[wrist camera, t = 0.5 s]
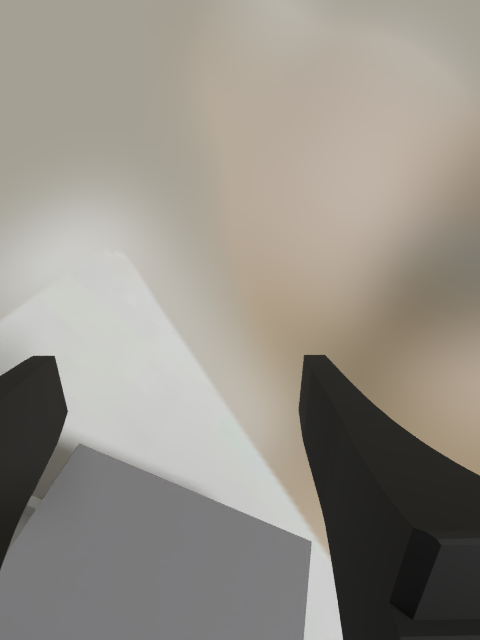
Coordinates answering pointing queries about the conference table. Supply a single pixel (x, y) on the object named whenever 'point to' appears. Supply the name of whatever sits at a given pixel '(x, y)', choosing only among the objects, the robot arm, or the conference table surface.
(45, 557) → the housing
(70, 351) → the conference table surface
